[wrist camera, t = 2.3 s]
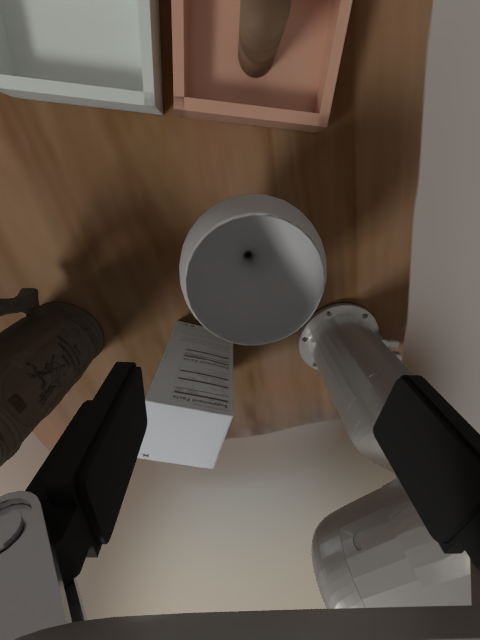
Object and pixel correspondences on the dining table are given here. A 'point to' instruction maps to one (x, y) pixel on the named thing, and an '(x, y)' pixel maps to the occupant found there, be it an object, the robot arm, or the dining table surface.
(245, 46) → the walnut peg
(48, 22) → the grey tub
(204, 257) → the chalice
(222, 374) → the supplement box
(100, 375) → the dining table surface
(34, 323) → the beer stein
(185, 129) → the dining table surface
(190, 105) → the terracotta tub
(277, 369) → the dining table surface
